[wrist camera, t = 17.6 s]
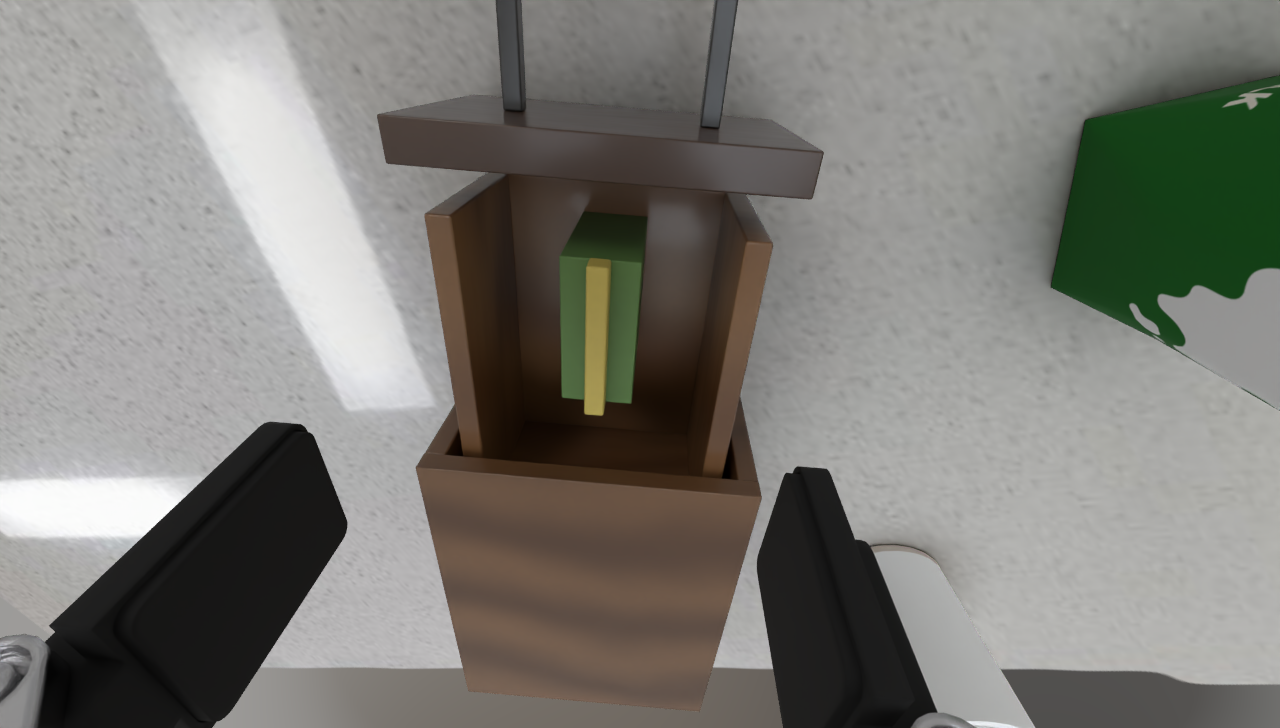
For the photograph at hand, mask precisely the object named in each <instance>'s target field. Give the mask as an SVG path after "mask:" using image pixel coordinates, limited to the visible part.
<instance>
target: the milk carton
mask: <svg viewBox="0 0 1280 728" xmlns="http://www.w3.org/2000/svg"><path fill="white" fill-rule="evenodd" d="M1051 288H1053V289H1055V290H1057V291H1059V292H1061V293H1063V294H1066V295H1068V296H1070V297H1072V298H1074V299H1076V300H1078V301H1080V302H1082V303H1084V304H1086V305H1088V306H1090V307H1092V308H1094V309H1096V310H1098V311H1100V312H1102V313H1104V314H1106V315H1108V316H1110V317H1112V318H1114V319H1116V320H1118V321H1120V322H1122V323H1124V324H1126V325H1128V326H1131V327H1133V328H1135V329H1137V330H1139V331H1141V332H1143V333H1145V334H1147V335H1149V336H1151V337H1153V338H1155V339H1157V340H1159V341H1160V342H1162V343H1164V344H1166V345H1167V346H1169V347H1171V348H1173V349H1174V350H1176V351H1178V352H1179V353H1181V354H1183V355H1185V356H1186V357H1188V358H1190V359H1192V360H1193V361H1195V362H1197V363H1198V364H1200V365H1202V366H1204V367H1205V368H1207V369H1209V370H1210V371H1212V372H1214V373H1216V374H1217V375H1219V376H1221V377H1222V378H1224V379H1226V380H1228V381H1229V382H1231V383H1233V384H1234V385H1236V386H1238V387H1240V388H1241V389H1243V390H1245V391H1247V392H1248V393H1250V394H1252V395H1253V396H1255V397H1257V398H1259V399H1260V400H1262V401H1264V402H1265V403H1267V404H1269V405H1271V406H1272V407H1274V408H1276V409H1277V410H1279V411H1280V75H1279V76H1275V77H1270V78H1266V79H1261V80H1257V81H1253V82H1248V83H1244V84H1240V85H1235V86H1231V87H1227V88H1222V89H1218V90H1214V91H1209V92H1205V93H1200V94H1196V95H1192V96H1187V97H1183V98H1179V99H1174V100H1170V101H1166V102H1161V103H1157V104H1152V105H1148V106H1144V107H1139V108H1135V109H1131V110H1126V111H1122V112H1118V113H1113V114H1109V115H1104V116H1100V117H1096V118H1091V119H1087V120H1086V121H1085V125H1084V130H1083V134H1082V139H1081V144H1080V149H1079V154H1078V159H1077V164H1076V168H1075V173H1074V178H1073V183H1072V188H1071V193H1070V197H1069V202H1068V207H1067V212H1066V217H1065V222H1064V227H1063V231H1062V236H1061V241H1060V246H1059V251H1058V256H1057V260H1056V265H1055V270H1054V275H1053V280H1052V285H1051Z"/></svg>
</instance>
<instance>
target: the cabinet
mask: <svg viewBox="0 0 1280 728" xmlns="http://www.w3.org/2000/svg"><path fill="white" fill-rule="evenodd" d="M416 471H417V475H418V480H419V484H420V488H421V492H422V497H423V501H424V505H425V509H426V514H427V518H428V522H429V526H430V530H431V535H432V539H433V543H434V547H435V552H436V556H437V560H438V564H439V569H440V573H441V577H442V581H443V586H444V590H445V594H446V598H447V603H448V607H449V611H450V615H451V620H452V624H453V628H454V632H455V636H456V641H457V645H458V649H459V653H460V658H461V662H462V666H463V670H464V675H465V679H466V683H467V687H468V691H473V692H483V693H494V694H506V695H517V696H529V697H540V698H551V699H563V700H574V701H586V702H597V703H609V704H619V705H631V706H642V707H654V708H665V709H676V710H688V711H700V709H701V706H702V702H703V699H704V695H705V692H706V688H707V685H708V681H709V678H710V675H711V671H712V668H713V664H714V661H715V657H716V654H717V650H718V647H719V643H720V640H721V637H722V633H723V630H724V626H725V623H726V619H727V616H728V612H729V609H730V605H731V602H732V599H733V595H734V592H735V588H736V585H737V581H738V578H739V574H740V571H741V568H742V564H743V561H744V557H745V554H746V550H747V547H748V543H749V540H750V536H751V533H752V530H753V526H754V523H755V519H756V516H757V512H758V509H759V505H760V502H761V499H762V496H761V491H760V487H759V483H758V478H757V474H756V469H755V464H754V459H753V455H752V450H751V445H750V441H749V436H748V431H747V426H746V422H745V417H744V412H743V407H742V403H741V398H739V402H738V407H737V411H736V416H735V421H734V425H733V430H732V434H731V439H730V443H729V448H728V452H727V457H726V461H725V466H724V470H723V475H722V479H719V478H707V477H696V476H684V475H672V474H661V473H649V472H638V471H626V470H614V469H603V468H591V467H580V466H568V465H556V464H545V463H533V462H522V461H510V460H499V459H487V458H475V457H464V456H463V450H462V444H461V438H460V432H459V425H458V419H457V413H456V407H455V405H454V406H453V408H452V410H451V411H450V413H449V415H448V416H447V418H446V420H445V421H444V423H443V424H442V426H441V428H440V429H439V431H438V433H437V434H436V436H435V438H434V439H433V441H432V442H431V444H430V446H429V447H428V449H427V451H426V453H425V454H424V455H423V456H422V458H421V460H420V461H419V463H418V465H417V466H416Z"/></svg>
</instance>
